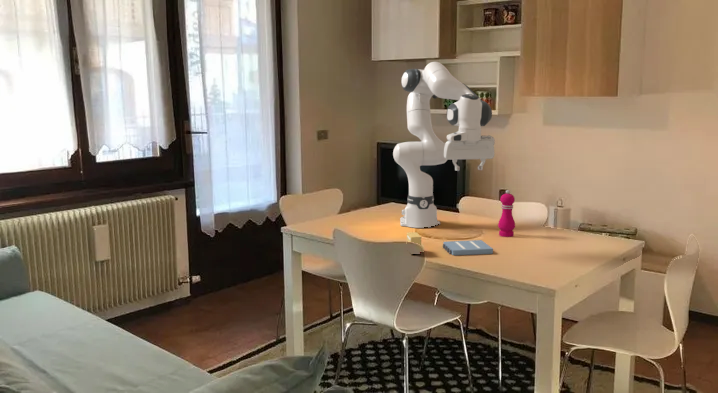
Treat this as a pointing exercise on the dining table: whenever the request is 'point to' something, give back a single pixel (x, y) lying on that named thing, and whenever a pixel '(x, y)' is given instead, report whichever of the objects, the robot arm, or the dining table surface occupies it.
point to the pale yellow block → (414, 237)
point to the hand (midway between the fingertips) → (468, 170)
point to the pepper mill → (506, 215)
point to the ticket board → (467, 247)
